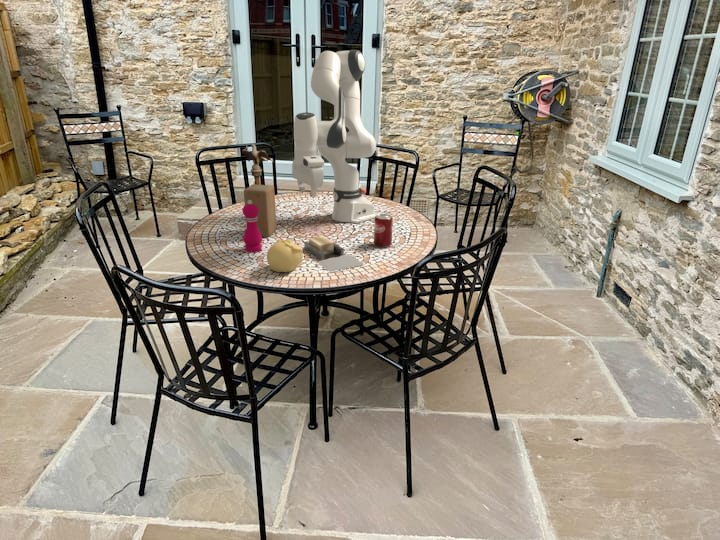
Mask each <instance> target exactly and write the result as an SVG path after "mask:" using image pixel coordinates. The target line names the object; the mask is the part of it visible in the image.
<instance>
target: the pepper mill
mask: <svg viewBox="0 0 720 540" xmlns="http://www.w3.org/2000/svg"><path fill="white" fill-rule="evenodd" d="M247 203H248V204H246V205H245V204H244V205H243V207H242V214H243V215H244V217H243V218H244V222H245V225H246V227H245V230H244V234H243V238H242V239H243V243H244V244H245V246H244V249H245V252H247V253H258V252H261V251H262V249H263V247H262V241H263V237H262V235H261V233H260V231H259V230H258V227H257V220H258V216H257V214H258V212H259V210H258V207H257V206H256V205H255V204H252V201H251V200H248V202H247Z"/></svg>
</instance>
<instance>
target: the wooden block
mask: <svg viewBox="0 0 720 540" xmlns="http://www.w3.org/2000/svg"><path fill="white" fill-rule="evenodd" d="M275 197H276V196H275V185H268V184H260V185H257V184H255V183H253V184H251V185H249V186H248V187H246V188H245V189H243V200H244V206H245V205H246V204H248V203H247V202H248V200H251V201H252V204H255V205H256V206H257V207H258V210H259V212H258V214H257V216H258V220H257V227H258V230H259V231H260V233H261V235H262V238H269V237H271V235H273V234H274V233H275V232H276V231H277V228H278V227H277V215H276V214H277V213H276V198H275Z"/></svg>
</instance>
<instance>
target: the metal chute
mask: <svg viewBox="0 0 720 540" xmlns="http://www.w3.org/2000/svg"><path fill="white" fill-rule="evenodd" d="M303 243H304V249H305V250H307V251H308V252H309V253H310V254H312V255H313V256H314V257H316V258H318V259H319V260H320V261H323V260H328V259H332V258H337V257H341V256H345V254H344V253H345V252H344V251H345V250H344V248H343V247H341V246H340V245H338V244H336V243H335V242H333V243H334V252H333V253H328V254H324V253H323V252H321V251H320V250H318V249H317V248H316V247H314V246H313V245H311V244H310V243H309V241H305V242H303Z"/></svg>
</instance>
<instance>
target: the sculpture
mask: <svg viewBox="0 0 720 540" xmlns="http://www.w3.org/2000/svg"><path fill="white" fill-rule="evenodd" d="M303 252H304V250H303V248H302V247H301V246H300V245H298V244H297V243H296V242H293V240H292V239H278V240H277V241H276V242H275V243H273V244H272V245H271V246H270V247H269V248H268V251H267V254H266V260H267V264H268V266H269V268H270V269H271V270H272V271H274V272H277V273H288V272H289V273H290V272H293V271H295V270H296V269H297V268H298V266H299V265H300V262H301V261H302V260H303V256H304V255H303V254H304V253H303Z"/></svg>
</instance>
